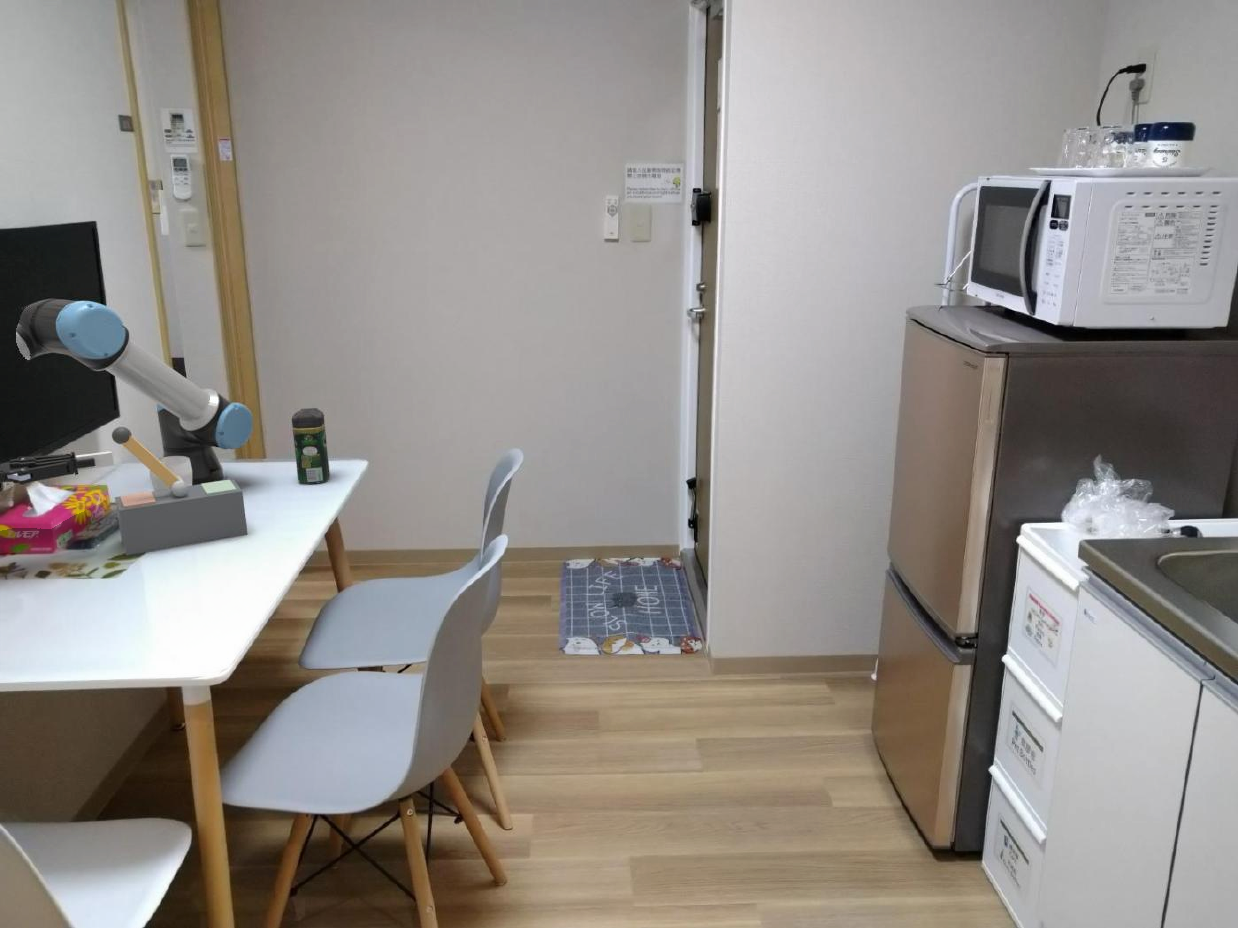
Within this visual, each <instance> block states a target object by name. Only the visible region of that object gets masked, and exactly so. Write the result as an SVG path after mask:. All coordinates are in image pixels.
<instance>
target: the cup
mask: <svg viewBox="0 0 1238 928" xmlns="http://www.w3.org/2000/svg"><path fill="white" fill-rule="evenodd" d="M157 459H158V460H159V461H160V462H161V463H162V464H164V465H165V466H166V467H167V468H168V469H169V470H170V471H171V472H172V473H174V474H175V475H176V476H179V477H181V478H182V479H183V481H184V482H185V484H186V486H192V468H191V463H190V458H188V457H185V456H169V457H163V456H162V457H158V458H157ZM149 478H150V480H151V481H150V482H151V484H152V485H151V486H152V487H153V491H159V490H166V489H171V488H170V487H169V486H168V485H166V484H165V483H164V482H163V481H162V480H161V479H160V478H159V477H158V476H156V475H155V474H154V473H153V472H152V471H151V470H150V469H149Z"/></svg>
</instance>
